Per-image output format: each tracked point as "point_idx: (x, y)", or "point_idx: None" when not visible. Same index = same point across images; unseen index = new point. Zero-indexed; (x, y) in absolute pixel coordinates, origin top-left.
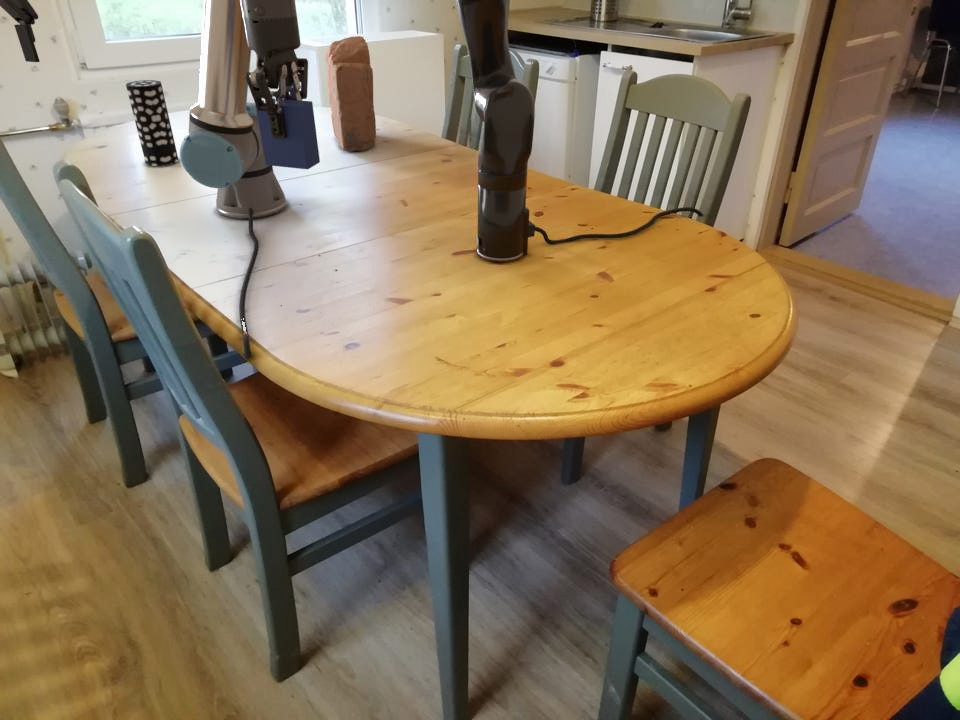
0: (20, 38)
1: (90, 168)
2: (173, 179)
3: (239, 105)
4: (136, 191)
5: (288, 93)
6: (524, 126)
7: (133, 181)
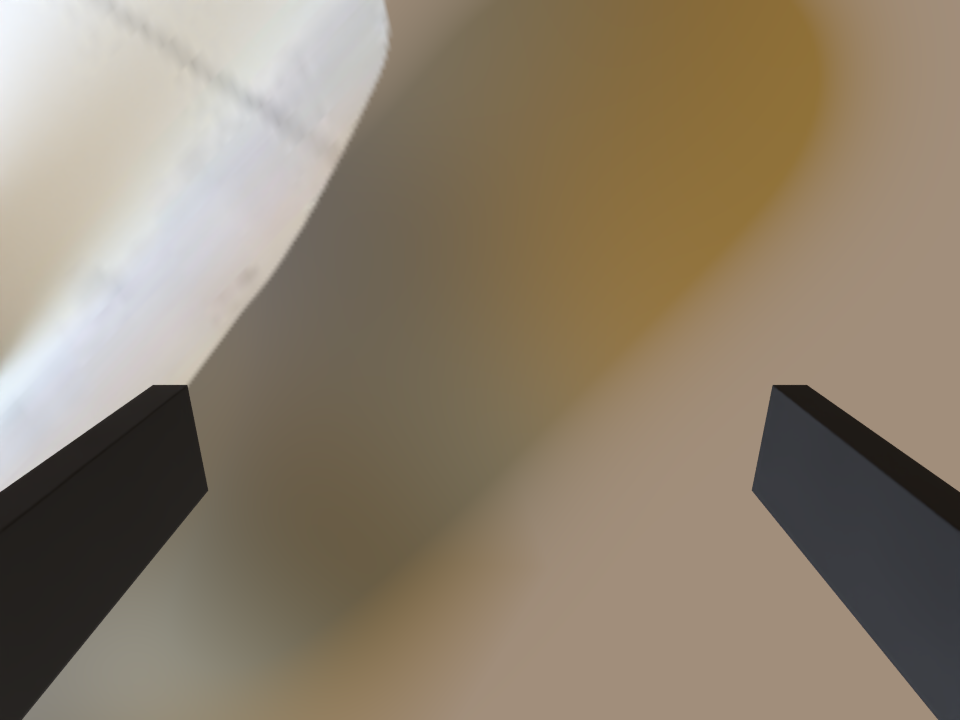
0: (86, 606)
1: None
2: (18, 215)
3: None
4: (163, 246)
5: None
6: None
7: (105, 320)
